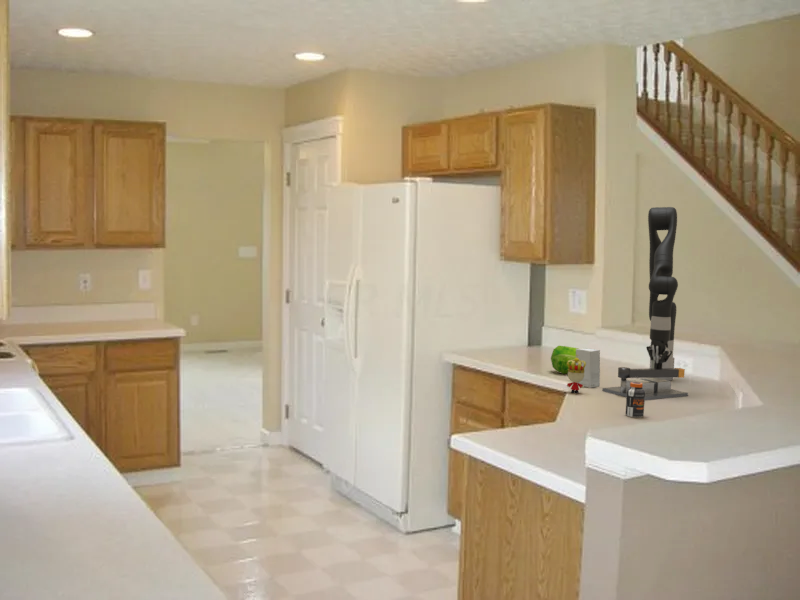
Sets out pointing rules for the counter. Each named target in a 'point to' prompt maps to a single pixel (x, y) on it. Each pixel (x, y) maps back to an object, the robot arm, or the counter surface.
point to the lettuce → (562, 358)
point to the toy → (575, 374)
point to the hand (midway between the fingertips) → (657, 372)
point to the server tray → (648, 396)
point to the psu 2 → (659, 384)
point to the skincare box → (590, 366)
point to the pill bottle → (635, 400)
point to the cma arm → (650, 372)
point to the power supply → (647, 385)
